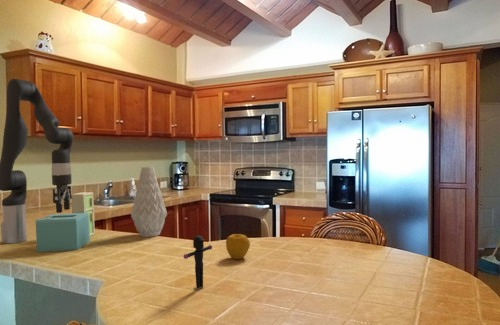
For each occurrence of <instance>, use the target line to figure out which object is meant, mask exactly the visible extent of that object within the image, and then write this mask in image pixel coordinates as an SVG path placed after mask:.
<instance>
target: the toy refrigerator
mask: <svg viewBox="0 0 500 325" xmlns="http://www.w3.org/2000/svg"><path fill="white" fill-rule="evenodd" d="M71 195H72V199H71V214H72V213H89V235H90V237H91V236H94V235H95V233H96V231H95V228H96V227H95V208H94V207H95V205H94V204H95V203H94V202H95V201H94V192H92V191H91V192H89V191H87V192H83V191H82V192H77V193H71Z"/></svg>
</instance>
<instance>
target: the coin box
mask: <svg viewBox="0 0 500 325" xmlns="http://www.w3.org/2000/svg"><path fill="white" fill-rule="evenodd" d="M35 236H36V253H44V252H62V251H63V252H64V251H78V250H79V249H81V248H82V247H83V245H84V246H85V245H86V244H88V243H89V242H90V240H91V239H90V238H91V236H90V235H89V213H72V212H71V213H55V214H49V215H47V216H46V215H45V216H44V217H41V218H39V219H36V220H35Z"/></svg>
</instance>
